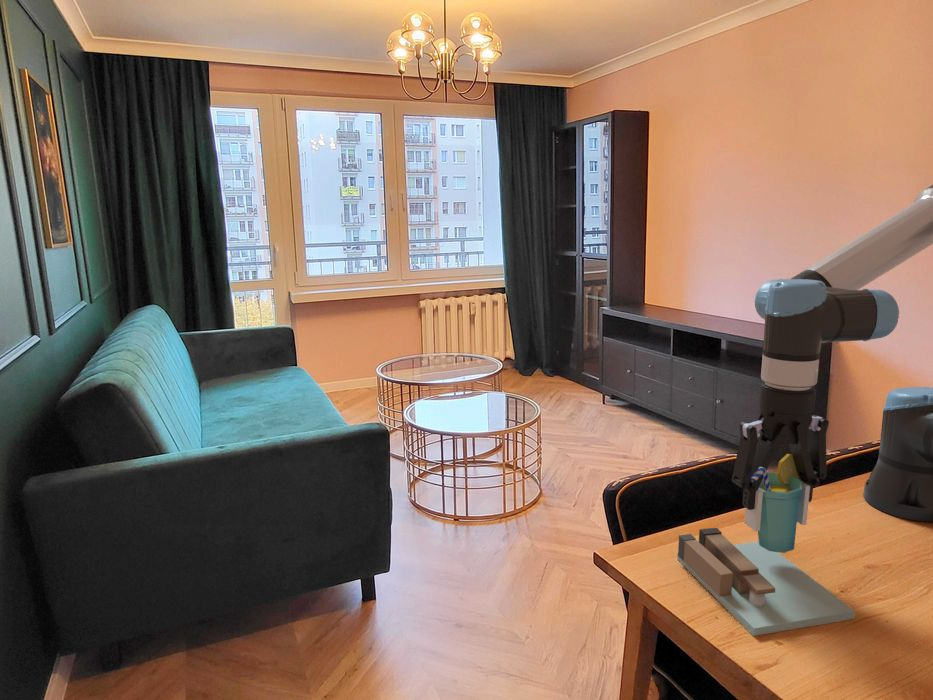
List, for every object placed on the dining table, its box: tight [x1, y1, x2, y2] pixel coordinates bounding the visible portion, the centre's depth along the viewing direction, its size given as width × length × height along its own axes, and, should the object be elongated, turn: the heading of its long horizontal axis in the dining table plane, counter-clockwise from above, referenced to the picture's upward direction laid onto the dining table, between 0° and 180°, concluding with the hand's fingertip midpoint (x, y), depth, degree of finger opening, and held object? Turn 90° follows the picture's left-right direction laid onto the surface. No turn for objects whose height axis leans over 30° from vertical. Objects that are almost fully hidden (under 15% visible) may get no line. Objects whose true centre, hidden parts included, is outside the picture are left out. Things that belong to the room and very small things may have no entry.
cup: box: [750, 453, 802, 554], centre depth 98 cm, size 14×8×15 cm, turn 132°
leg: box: [698, 527, 775, 595], centre depth 97 cm, size 16×3×4 cm, turn 8°
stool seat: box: [676, 533, 856, 637], centre depth 96 cm, size 16×20×5 cm
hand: (775, 523), depth 99 cm, fingers closed on cup, 7 cm apart
